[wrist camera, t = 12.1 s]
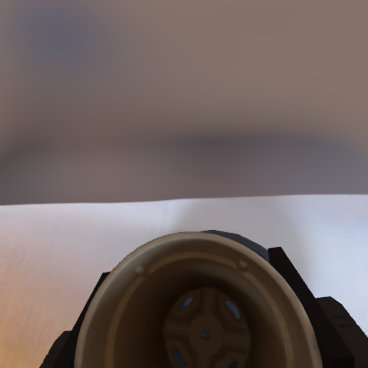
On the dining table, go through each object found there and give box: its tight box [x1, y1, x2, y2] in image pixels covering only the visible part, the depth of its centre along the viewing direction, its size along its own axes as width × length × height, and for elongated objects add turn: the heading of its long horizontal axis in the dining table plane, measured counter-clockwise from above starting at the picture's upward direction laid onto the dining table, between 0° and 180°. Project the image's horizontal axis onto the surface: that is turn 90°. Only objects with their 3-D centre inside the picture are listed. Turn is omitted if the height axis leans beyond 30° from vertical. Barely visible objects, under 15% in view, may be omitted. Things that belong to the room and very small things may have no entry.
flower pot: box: [74, 232, 323, 368], centre depth 13 cm, size 9×9×9 cm
